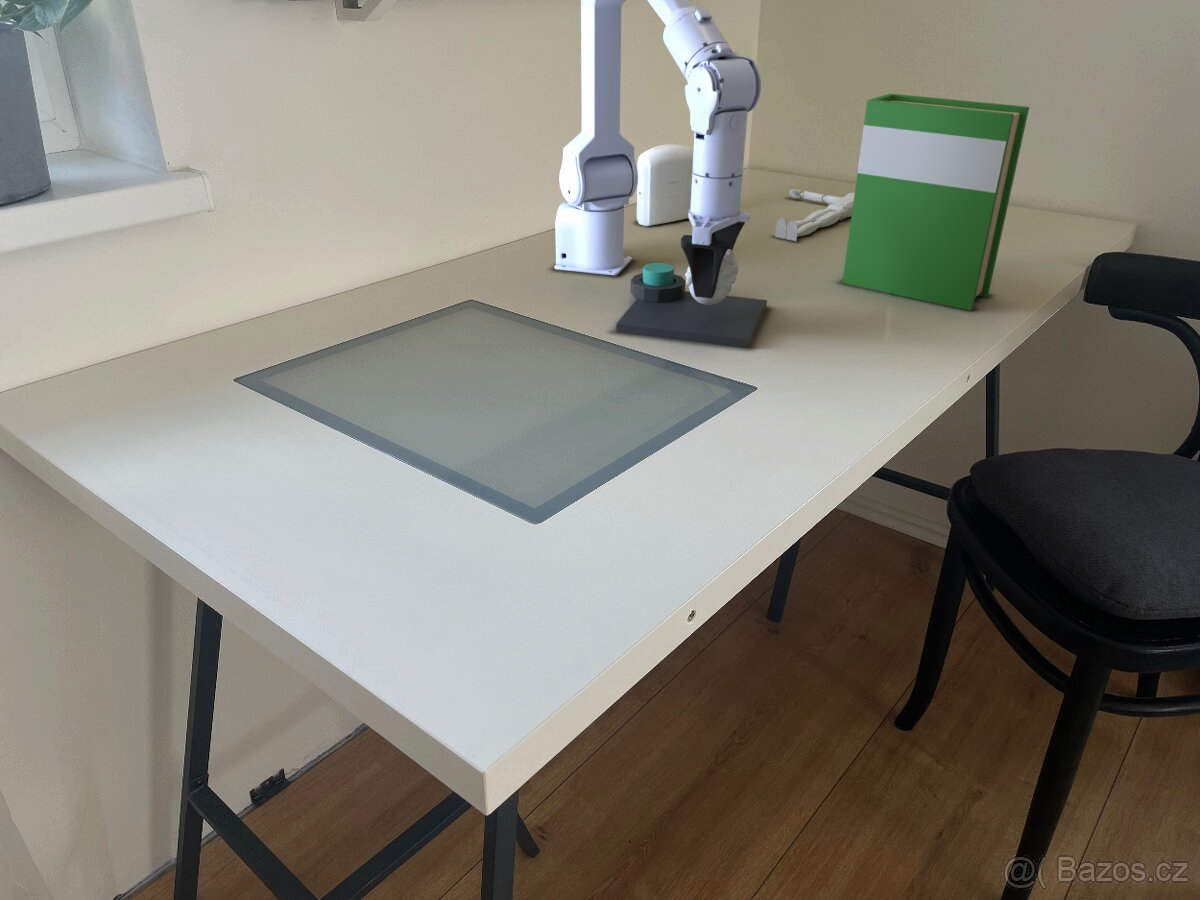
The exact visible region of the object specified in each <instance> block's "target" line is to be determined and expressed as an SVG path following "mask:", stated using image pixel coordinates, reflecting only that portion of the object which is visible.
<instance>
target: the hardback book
mask: <svg viewBox="0 0 1200 900" xmlns="http://www.w3.org/2000/svg"><path fill="white" fill-rule="evenodd" d="M866 100H867V101H866V107H865V115H864V122H863V129H862V130H863V131H862V137H861V143H860V151H859V159H858V166H857V171H856V172H857V174H856V180H855V189H854V193H855V194H854V202H853V209H852V216H851V218H850V225H849V232H848V238H847V239H848V240H847V247H846V253H845V260H844V269H843V275H842V284H844V285H845V284H846V285H851V286H855V287H860V288H864V289H869V290H874V291H878V292H884V293H888V294H890V295H895V296H899V297H904V298H909V299H915V300H917V301H923V302H929V303H933V304H938V305H943V306H947V307H952V308H956V309H961V310H966V311H972V310H973V309H974V306H975V301H976V298H977V297H978V296H979V297H984V298H987V297H988V296H989V294H990V290H991V285H992V281H993V275H994V272H995V266H996V262H997V257H998V252H999V249H1000V244H1001V240H1002V239H1001V238H1002V234H1003V230H1004V225H1005V221H1006V216H1007V211H1008V208H1009V207H1008V206H1009V203H1010V198H1011V194H1012V189H1013V185H1014V179H1015V175H1016V170H1017V166H1018V161H1019V157H1020V153H1021V147H1022V144H1023V143H1022V142H1023V137H1024V133H1025V129H1026V124H1027V119H1028V115H1029V110H1030V106H1024V105H1016V104H1015V105H1014V104H1004V103H994V102H985V101H984V102H982V101H974V100H973V101H971V100H963V99H962V100H961V99H950V98H940V97H930V96H922V95H921V96H920V95H909V94H900V93H899V94H898V93H887V94H884V95H883V94H882V95H880V96H876V97H873V98H870V99H866Z"/></svg>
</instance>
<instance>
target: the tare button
mask: <svg viewBox="0 0 1200 900" xmlns="http://www.w3.org/2000/svg"><path fill="white" fill-rule="evenodd" d="M642 273H643V283H644V284H647V285H652V286H668V285H671V284H673V283H674V274H675V267H674V265H671V264H669V263H664V262H651V263H647V264H645V265H643V266H642Z"/></svg>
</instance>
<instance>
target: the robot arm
mask: <svg viewBox="0 0 1200 900" xmlns="http://www.w3.org/2000/svg"><path fill="white" fill-rule="evenodd" d="M646 1H647V2H648V4H649V5H650V6H651V7H652V9H653V10H654V12H655V13H656V15H657V16H658V17H659V18H660V20H661V21H662V23H663V24H664V25H665V27H664V30H663V34H662V38H663V43H664V45H665V47H666V48H667V50H668V52H669V53H670V55H671V56H672V58H673V60H674V61H675V64H676V65H677V67H678V69H679V70H680V71H681V74H682V75H683V77H684V78H685V80H686V81H687V83H686V84H685V86H684V93H685V94H684V95H685V100H686V104H687V107H688V109H689V117H690V119H689V125H690V129H691V131H693V132H694V135H693V138H694V139H693V150H692V151H693V171H692V189H691V208H690V210H689V214H688V217H689V218H688V220H689V222H690V225H691V226H692V234H691V235H690V234H683V236H682V237H681V238H680V247H681V249H682V251H683V253H684V255H685V257H686V260H687V263H688V267H690V271H691V277H692V283H693V289H694V294H695V297H702V298H712V297H713V295H714V293H715V290H716V286H717V281H718V276H719V272H720V268H721V264H722V261H723V259H724V256H725V254H726V252H727V250H728V249H730V250H732V252H733V250H734V247H735V245H736V242H737V239H738V237H739V235H740V233H741V231H742V229H743V227H744V226H745V225H746V222H749V220H750V218H751V213H750V212H749V211H742V210H741V202H742V201H741V200H742V188H743V187H742V186H743V176H744V175H743V174H744V161H745V150H746V149H745V147H746V138H747V125H748V113H749V112H751V111H753V110H754V108H755V107H756V106H757V104H758V102H759V100H760V96H761V91H762V79H761V75H760V71H759V69H758V66H757V64H756V62H755V60H754V59H753V58H752V57H750V56H747V55H741V54H740V53H739V52H738V51H733V50H732V48H731V46H730V45H729V43H728V42H727V40H726V38H725V37H724V35H723V34H722V32H721V30H720V29H719V27H718V26H717V24H716V22H715V20H713V15H712V14H711V12H710V11H709V9H708V8H705V7H703V6H699V5H692V4H691V2H690V0H646ZM626 2H627V0H580V47H581V48H580V66H581V67H580V68H581V69H580V71H581V74H580V75H581V77H580V78H581V81H580V82H581V83H580V84H581V87H580V88H581V89H580V90H581V131H580V132H579V133H578V134H577V135H576V136H575V137H574V138H573V139H571V140H570V142H567V144H566V145H565V146H564V147H563V149H562V162H561V167H560V171H559V181H558V182H559V188H560V191H561V195H562V196H563V198H564V199H565V202H561V203H560V205H559V206H558V208H557V212H556V216H555V225H554V229H555V230H554V231H555V265H554V268H553V269H554V270H559V271H569V272H578V273H586V274H596V275H605V276H614V277H615V276H618V275H619V274H620V273H621V272H622V271H623V270H624V269H625V268H626V267H627V266H628V265H629V264H630V263H631V262H632V260H633V257H632V256H627V255H624V241H625V240H624V238H625V236H624V235H625V228H624V227H625V206H627V205H629V204H630V198H632V197H633V196H634V195H635V192H636V191H637V184H638V171H637V163H636V158H635V157H636V156H635V146H634V145H633V144H632V143H631V142H630V141H629V140H628V139H627V138H625V137H624V136H623V135H622V134H621V133H620V131H621V123H620V122H621V67H622V66H621V65H622V63H621V62H622V61H621V60H622V59H621V57H622V56H621V55H622V8H623V5H624V4H625V3H626Z"/></svg>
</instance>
